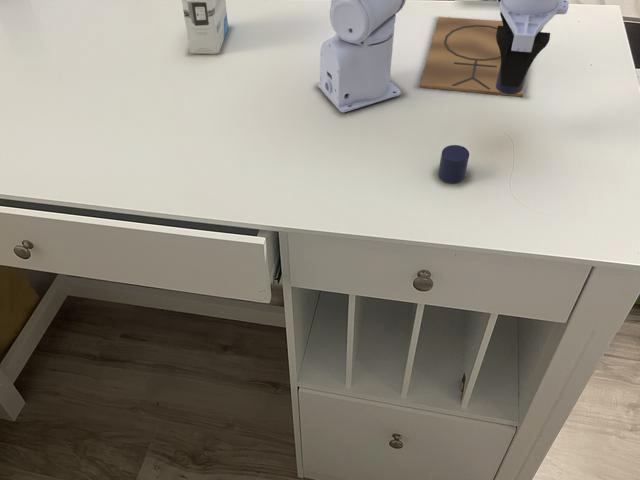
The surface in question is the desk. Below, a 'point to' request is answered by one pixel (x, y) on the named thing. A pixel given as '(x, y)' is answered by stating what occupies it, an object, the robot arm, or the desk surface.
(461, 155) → the dot
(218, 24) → the ink box
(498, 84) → the dot
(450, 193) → the desk surface
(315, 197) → the desk surface
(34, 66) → the desk surface
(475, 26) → the sheet
